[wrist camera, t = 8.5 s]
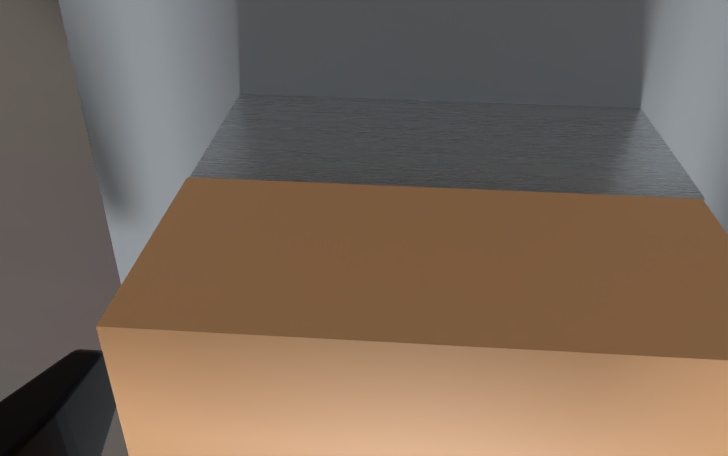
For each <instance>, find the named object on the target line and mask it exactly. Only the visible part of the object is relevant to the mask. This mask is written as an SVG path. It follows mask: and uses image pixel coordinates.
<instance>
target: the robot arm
mask: <svg viewBox="0 0 728 456" xmlns="http://www.w3.org/2000/svg"><path fill="white" fill-rule="evenodd" d="M115 409H116V403H115V399H114V395H113V391H112V387H111V383H110V379H109V375H108V371H107V368H106V364H105V360H104V356H103V352H102V351H100V350H83V349H79V350H75V351H73V352H71V353H70V354H68V355H67V356H65V357H64V358H62V359H61V360H59V361H58V362H57V363H55V364H54V365H52V366H51V367H49V368H48V369H47V370H45V371H44V372H42V373H41V374H39V375H38V376H36V377H35V378H34V379H32V380H31V381H29V382H28V383H26V384H25V385H24V386H22V387H21V388H19V389H18V390H16V391H15V392H14V393H12V394H11V395H9V396H8V397H6V398H5V399H3V400H2V401H1V402H0V456H101V455H102V452H103V449H104V445H105V442H106V439H107V436H108V432H109V429H110V426H111V423H112V419H113V416H114V413H115Z"/></svg>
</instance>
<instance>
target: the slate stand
mask: <svg viewBox="0 0 728 456" xmlns="http://www.w3.org/2000/svg"><path fill="white" fill-rule="evenodd" d="M58 1H59V6H60V10H61V15H62V19H63V24H64V28H65V33H66V37H67V42H68V46H69V51H70V55H71V60H72V64H73V69H74V74H75V78H76V83H77V87H78V92H79V96H80V101H81V105H82V110H83V114H84V119H85V123H86V128H87V132H88V137H89V141H90V146H91V150H92V155H93V159H94V164H95V168H96V173H97V178H98V182H99V187H100V191H101V196H102V200H103V205H104V209H105V214H106V218H107V223H108V227H109V232H110V236H111V241H112V245H113V250H114V254H115V259H116V263H117V268H118V272H119V277H120V282H121V285H122V283H123V281H124V280H125V278H126V277H127V275H128V273H129V272H130V270H131V268H132V267H133V265H134V263H135V262H136V260H137V259H138V257H139V255H140V254H141V252H142V250H143V249H144V247H145V245H146V244H147V242H148V240H149V239H150V237H151V236H152V234H153V232H154V231H155V229H156V227H157V226H158V224H159V222H160V221H161V219H162V218H163V216H164V214H165V213H166V211H167V209H168V208H169V206H170V204H171V203H172V201H173V200H174V198H175V196H176V195H177V193H178V191H179V190H180V188H181V186H182V185H183V183H184V181H185V180H186V178H187V177H190V175H191V174H192V172H193V170H194V169H195V167H196V165H197V164H198V162H199V160H200V159H201V157H202V156H203V154H204V152H205V151H206V149H207V147H208V146H209V144H210V142H211V141H212V139H213V137H214V136H215V134H216V132H217V131H218V129H219V127H220V126H221V124H222V122H223V121H224V119H225V117H226V116H227V114H228V112H229V111H230V109H231V108H232V106H233V104H234V103H235V101H236V99H237V98H238V96H239V94H266V95H295V96H323V97H351V98H380V99H408V100H436V101H465V102H493V103H521V104H549V105H578V106H606V107H634V108H641V109H642V110H643V112H644V113H645V114H646V116H647V117H648V119H649V120H650V122H651V123H652V124H653V126H654V127H655V129H656V130H657V131H658V133H659V134H660V136H661V137H662V138H663V140H664V141H665V143H666V144H667V145H668V147H669V148H670V150H671V151H672V153H673V154H674V155H675V157H676V158H677V160H678V161H679V162H680V164H681V165H682V167H683V168H684V169H685V171H686V172H687V174H688V175H689V176H690V178H691V179H692V181H693V182H694V183H695V185H696V186H697V188H698V189H699V191H700V192H701V193H702V195H703V196H704V198H705V203H706V205H707V206H708V207H709V209H710V210H711V212H712V213H713V215H714V216H715V217H716V219H717V220H718V222H719V223H720V224H721V226H722V227H723V229H724V230H725V232H726V233H727V234H728V0H58Z"/></svg>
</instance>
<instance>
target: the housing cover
mask: <svg viewBox="0 0 728 456" xmlns="http://www.w3.org/2000/svg"><path fill="white" fill-rule="evenodd" d="M96 328H97V332H98V336H99V340H100V344H101V348H102V352H103V356H104V360H105V364H106V368H107V371H108V375H109V379H110V383H111V387H112V391H113V395H114V399H115V403H116V407H117V411H118V415H119V419H120V422H121V426H122V430H123V434H124V438H125V442H126V446H127V450H128V454H129V456H728V234H727V233H726V232H725V230H724V229H723V227H722V226H721V224H720V223H719V222H718V220H717V219H716V217H715V216H714V215H713V213H712V212H711V210H710V209H709V207H708V206H707V205H706V203H705V202H704V200H703V199H690V198H667V197H643V196H619V195H595V194H571V193H547V192H523V191H499V190H475V189H451V188H427V187H404V186H380V185H356V184H332V183H308V182H284V181H260V180H236V179H212V178H189V177H187V178H186V180H185V181H184V183H183V185H182V186H181V188H180V190H179V191H178V193H177V195H176V196H175V198H174V200H173V201H172V203H171V204H170V206H169V208H168V209H167V211H166V213H165V214H164V216H163V218H162V219H161V221H160V222H159V224H158V226H157V227H156V229H155V231H154V232H153V234H152V236H151V237H150V239H149V240H148V242H147V244H146V245H145V247H144V249H143V250H142V252H141V254H140V255H139V257H138V259H137V260H136V262H135V263H134V265H133V267H132V268H131V270H130V272H129V273H128V275H127V277H126V278H125V280H124V281H123V283H122V285H121V286H120V288H119V290H118V291H117V293H116V295H115V296H114V298H113V299H112V301H111V303H110V304H109V306H108V308H107V309H106V311H105V313H104V314H103V316H102V318H101V319H100V321H99V322H98V324H97V326H96Z"/></svg>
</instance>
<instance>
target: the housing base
mask: <svg viewBox="0 0 728 456" xmlns="http://www.w3.org/2000/svg"><path fill="white" fill-rule="evenodd" d="M189 178H212V179H236V180H260V181H284V182H308V183H332V184H356V185H380V186H404V187H427V188H451V189H475V190H499V191H523V192H547V193H571V194H595V195H619V196H643V197H667V198H690V199H703V200H704V202H705V198H704V196H703V195H702V193H701V192H700V191H699V189H698V188H697V186H696V185H695V183H694V182H693V181H692V179H691V178H690V176H689V175H688V174H687V172H686V171H685V169H684V168H683V167H682V165H681V164H680V162H679V161H678V160H677V158H676V157H675V155H674V154H673V153H672V151H671V150H670V148H669V147H668V145H667V144H666V143H665V141H664V140H663V138H662V137H661V136H660V134H659V133H658V131H657V130H656V129H655V127H654V126H653V124H652V123H651V122H650V120H649V119H648V117H647V116H646V114H645V113H644V112H643V110H642V109H641V108H634V107H606V106H578V105H549V104H521V103H493V102H465V101H436V100H408V99H380V98H351V97H323V96H295V95H266V94H239V96H238V98H237V99H236V101H235V103H234V104H233V106H232V108H231V109H230V111H229V112H228V114H227V116H226V117H225V119H224V121H223V122H222V124H221V126H220V127H219V129H218V131H217V132H216V134H215V136H214V137H213V139H212V141H211V142H210V144H209V146H208V147H207V149H206V151H205V152H204V154H203V156H202V157H201V159H200V160H199V162H198V164H197V165H196V167H195V169H194V170H193V172H192V174H191V175H190V177H189Z"/></svg>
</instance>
